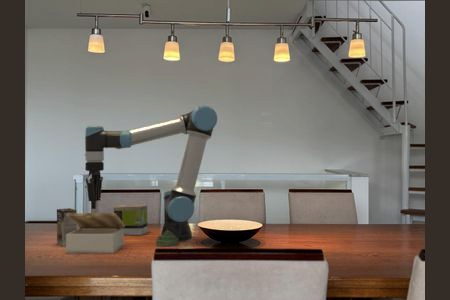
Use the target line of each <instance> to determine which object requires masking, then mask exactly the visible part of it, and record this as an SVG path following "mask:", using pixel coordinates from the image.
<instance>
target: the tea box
mask: <svg viewBox="0 0 450 300" xmlns="http://www.w3.org/2000/svg"><path fill="white" fill-rule="evenodd" d="M113 213H116V214H117V216H118V217H119V218H120V219H121V221H122V222H123V223H124V224H125V227H124V236H143V235H145V234H146V233H147V232H148V226H149V225H148V205H147V204H119V205H117V206H114V207H113Z"/></svg>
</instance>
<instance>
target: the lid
mask: <svg viewBox="0 0 450 300" xmlns="http://www.w3.org/2000/svg"><path fill="white" fill-rule="evenodd" d="M66 216H67V217H68V218H70V219H71V220H72V221H73V222H74V223H75V224H76V225H77V227H79V229H120V228H123V229H124V227H125V224H124V223H123V222H122V221H121V219H120V218H119V217H118V216H117V214H116V213H114V212H109V213H108V212H106V213H103V212H102V213H101V212H98V213H91V212H87V213H86V212H85V213H72V214H67V215H66Z"/></svg>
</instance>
